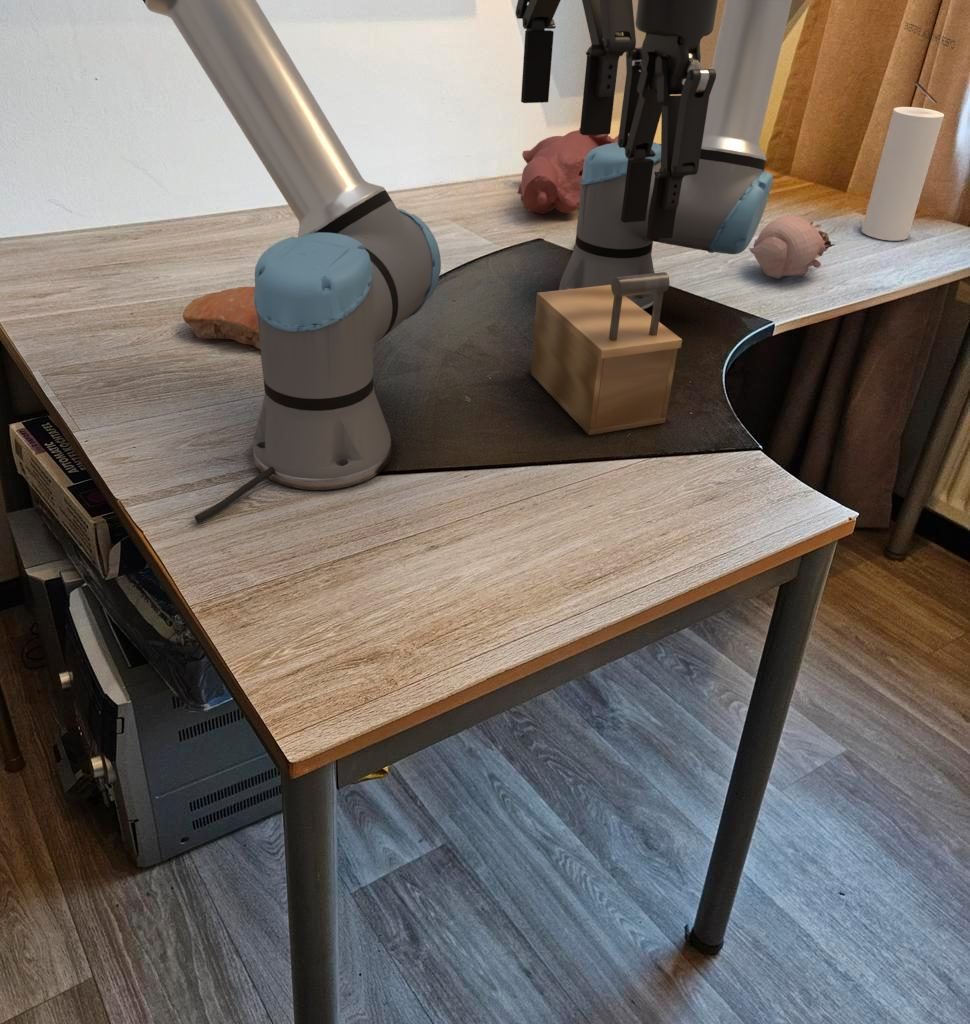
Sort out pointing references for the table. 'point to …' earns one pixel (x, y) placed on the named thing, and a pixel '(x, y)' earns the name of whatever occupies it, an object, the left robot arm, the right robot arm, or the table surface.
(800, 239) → the toy
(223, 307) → the ceramic shard
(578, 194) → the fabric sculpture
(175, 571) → the table surface
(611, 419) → the chest
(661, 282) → the lid
